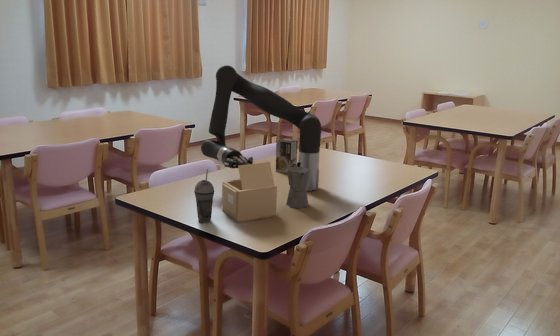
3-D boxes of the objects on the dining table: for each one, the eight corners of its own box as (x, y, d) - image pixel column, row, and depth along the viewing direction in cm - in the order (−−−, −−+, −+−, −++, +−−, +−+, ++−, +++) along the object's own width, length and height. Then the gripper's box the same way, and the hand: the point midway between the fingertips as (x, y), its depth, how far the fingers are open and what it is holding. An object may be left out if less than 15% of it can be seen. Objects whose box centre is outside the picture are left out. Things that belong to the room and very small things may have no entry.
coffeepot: (312, 209, 202) (315, 166, 198) (290, 210, 200) (291, 166, 195) (302, 197, 217) (304, 156, 212) (281, 198, 215) (282, 157, 210)
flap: (242, 190, 183) (238, 165, 184) (273, 185, 190) (269, 162, 191) (243, 189, 183) (238, 165, 184) (274, 185, 189) (269, 161, 190)
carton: (219, 210, 197) (219, 181, 194) (259, 204, 206) (260, 176, 203) (236, 223, 185) (236, 192, 182) (278, 215, 194) (278, 185, 191)
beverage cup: (195, 217, 190) (194, 166, 184) (214, 217, 190) (214, 166, 185) (193, 224, 182) (193, 171, 177) (214, 224, 183) (213, 171, 178)
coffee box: (296, 171, 257) (298, 140, 253) (290, 174, 252) (291, 142, 247) (281, 168, 262) (282, 138, 257) (275, 171, 256) (275, 140, 252)
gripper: (214, 149, 201) (233, 159, 187) (244, 146, 208) (264, 155, 193) (214, 167, 203) (233, 178, 189) (244, 164, 209) (264, 174, 195)
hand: (249, 167), depth 191 cm, fingers closed
